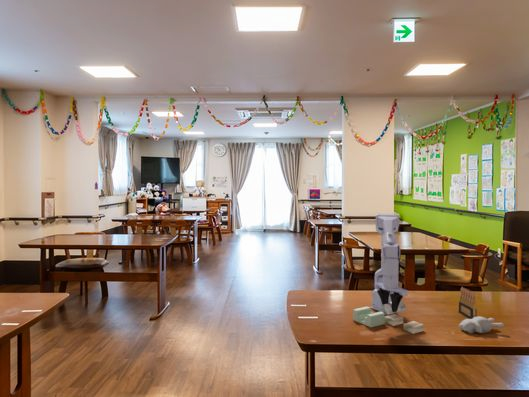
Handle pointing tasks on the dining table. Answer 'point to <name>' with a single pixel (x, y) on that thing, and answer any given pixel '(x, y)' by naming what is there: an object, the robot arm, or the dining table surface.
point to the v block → (368, 317)
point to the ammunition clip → (467, 304)
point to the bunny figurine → (479, 325)
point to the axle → (388, 308)
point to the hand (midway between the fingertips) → (390, 309)
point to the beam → (409, 327)
